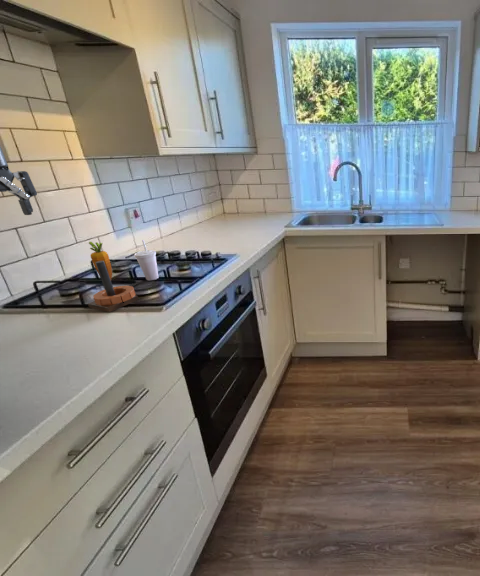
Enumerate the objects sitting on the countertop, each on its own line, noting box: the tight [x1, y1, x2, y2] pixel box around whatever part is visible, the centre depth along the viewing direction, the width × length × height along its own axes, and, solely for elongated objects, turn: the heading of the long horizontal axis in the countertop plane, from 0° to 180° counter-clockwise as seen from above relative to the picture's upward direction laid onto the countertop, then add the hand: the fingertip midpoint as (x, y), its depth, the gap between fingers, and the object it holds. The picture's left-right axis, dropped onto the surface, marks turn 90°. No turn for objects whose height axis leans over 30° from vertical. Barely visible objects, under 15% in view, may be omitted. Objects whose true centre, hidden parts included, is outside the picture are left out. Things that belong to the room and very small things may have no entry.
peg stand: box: [87, 261, 139, 313], centre depth 106 cm, size 9×9×14 cm
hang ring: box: [93, 285, 137, 305], centre depth 109 cm, size 10×10×2 cm
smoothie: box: [134, 239, 160, 281], centre depth 125 cm, size 6×6×14 cm
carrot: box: [88, 241, 113, 281], centre depth 122 cm, size 5×5×15 cm
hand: (6, 217), depth 88 cm, fingers open, 8 cm apart
